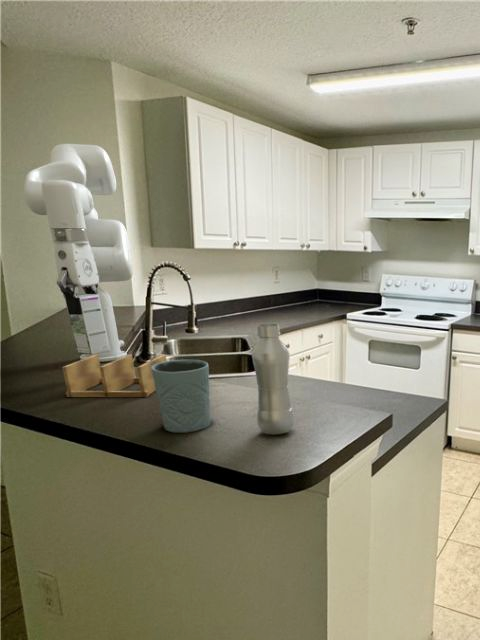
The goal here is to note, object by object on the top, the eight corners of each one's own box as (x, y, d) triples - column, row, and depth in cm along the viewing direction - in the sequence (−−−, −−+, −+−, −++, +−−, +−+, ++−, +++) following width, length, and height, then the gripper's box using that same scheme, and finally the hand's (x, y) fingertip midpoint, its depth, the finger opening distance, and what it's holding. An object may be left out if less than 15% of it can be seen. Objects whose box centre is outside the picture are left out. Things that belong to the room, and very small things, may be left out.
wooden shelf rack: (98, 381, 138) (93, 354, 135) (171, 381, 138) (167, 354, 135) (66, 397, 125) (60, 367, 122) (147, 397, 125) (142, 367, 122)
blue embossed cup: (185, 415, 112) (177, 357, 108) (226, 420, 109) (219, 361, 105) (148, 430, 103) (138, 368, 99) (192, 437, 100) (183, 373, 96)
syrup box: (111, 351, 142) (100, 293, 136) (91, 355, 136) (78, 296, 131) (96, 349, 144) (84, 293, 139) (75, 353, 139) (62, 295, 134)
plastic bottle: (261, 427, 105) (251, 322, 98) (296, 426, 105) (289, 322, 98) (255, 439, 99) (244, 328, 92) (293, 438, 99) (285, 327, 92)
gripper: (64, 237, 122) (80, 317, 128) (104, 237, 138) (116, 308, 145) (31, 237, 122) (49, 317, 128) (74, 237, 138) (88, 308, 145)
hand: (84, 311), depth 136 cm, fingers closed on syrup box, 7 cm apart
